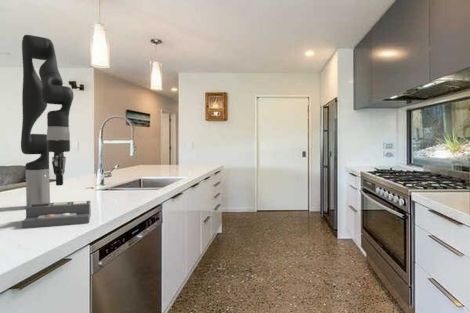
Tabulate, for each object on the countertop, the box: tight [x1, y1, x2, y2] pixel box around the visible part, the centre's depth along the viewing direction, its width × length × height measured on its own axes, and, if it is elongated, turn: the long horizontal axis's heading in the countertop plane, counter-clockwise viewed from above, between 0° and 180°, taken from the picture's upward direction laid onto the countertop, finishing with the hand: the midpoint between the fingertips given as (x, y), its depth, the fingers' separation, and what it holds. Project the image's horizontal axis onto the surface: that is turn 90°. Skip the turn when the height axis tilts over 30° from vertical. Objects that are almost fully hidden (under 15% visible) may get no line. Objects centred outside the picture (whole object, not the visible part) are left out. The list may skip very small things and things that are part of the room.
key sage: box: [52, 201, 69, 206], centre depth 122 cm, size 5×5×2 cm
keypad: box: [22, 200, 92, 229], centre depth 120 cm, size 14×21×6 cm
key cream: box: [73, 200, 88, 205], centre depth 124 cm, size 5×5×2 cm
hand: (59, 185), depth 121 cm, fingers closed
